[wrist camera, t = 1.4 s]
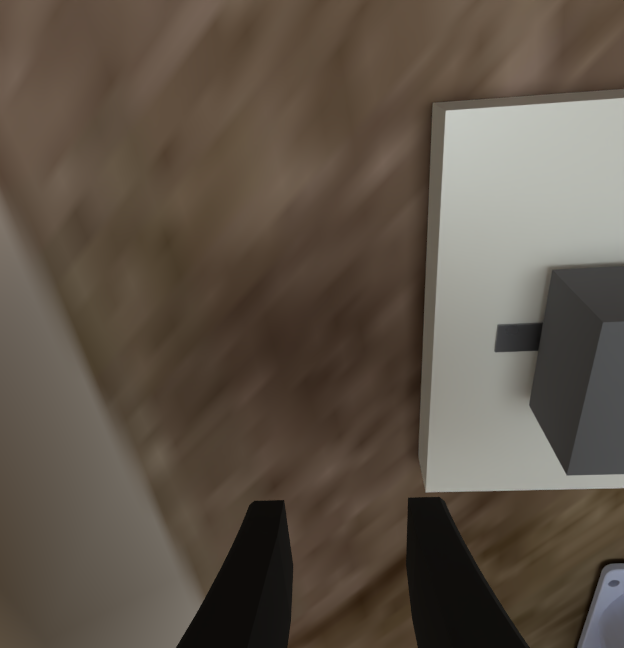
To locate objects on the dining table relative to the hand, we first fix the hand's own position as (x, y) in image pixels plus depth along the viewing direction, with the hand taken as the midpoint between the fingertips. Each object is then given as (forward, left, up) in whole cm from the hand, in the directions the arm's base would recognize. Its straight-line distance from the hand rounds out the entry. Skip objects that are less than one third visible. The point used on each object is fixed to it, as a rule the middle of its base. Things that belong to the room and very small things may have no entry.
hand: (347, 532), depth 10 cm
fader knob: (0, -8, -7) cm, 11 cm away
